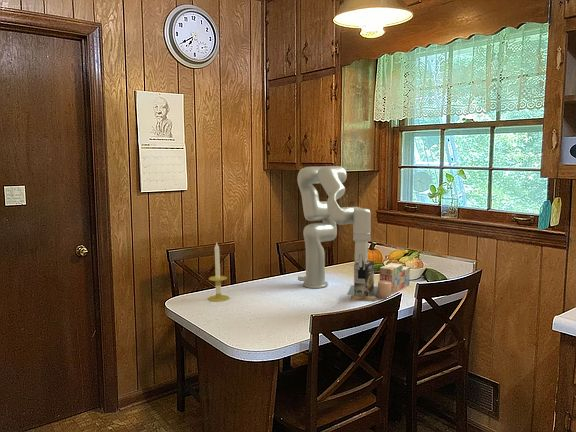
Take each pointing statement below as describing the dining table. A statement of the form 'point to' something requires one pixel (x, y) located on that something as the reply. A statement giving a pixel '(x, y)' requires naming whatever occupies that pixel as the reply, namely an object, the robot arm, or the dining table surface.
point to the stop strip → (363, 298)
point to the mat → (351, 290)
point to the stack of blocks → (395, 276)
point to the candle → (218, 279)
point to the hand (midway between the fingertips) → (361, 278)
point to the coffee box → (364, 280)
